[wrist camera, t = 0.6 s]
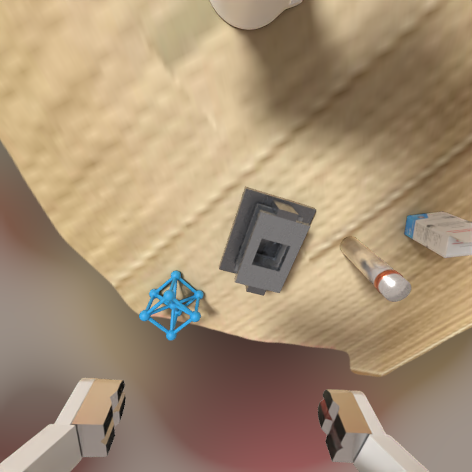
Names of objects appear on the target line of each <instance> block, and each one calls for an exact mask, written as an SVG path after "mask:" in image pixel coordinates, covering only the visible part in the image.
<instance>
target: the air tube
mask: <svg viewBox="0 0 472 472" xmlns="http://www.w3.org/2000/svg"><path fill="white" fill-rule="evenodd" d="M340 249H341V251H342V252H343V253H344V254H345V255H346V256H347V257H348V258H349V260H350V261H351V262H352V263H353V264H354V265H355V266H356V267H357V268H358V269H359V270H360V271H361V272H362V273H363V274H364V275H365V277H366V278H367V279H368V280H369V281H370V282H371V283H372V284H373V285H374V286H375V288H376V289H377V290H378V291H379V292H380V293H381V294H382V295H383V296H384V297H385V298H386V299H387V300H389V301H392V302H396V301H400V300H402V299H404V298H406V297H407V296H408V295H409V293H410V291H411V284H410V283H409V282H408V281H407V280H406V279H405V278H403V276H402V275H401V274H400V273H398V272H397V271H395V270H394V269H393V268H391V267H390V266H389V265H388V264H387V263H386V262H384V261H383V260H382V259H381V258H380V257H378V256H377V255H376V254H375V253H374V252H372V251H371V250H370V249H369V248H368V247H366V246H365V245H364V244H363V243H362V242H361V241H359V240H358V239H357V238H356V237H352V236H351V237H347V238H345V239H344V240H343V241H342V242H341V244H340Z"/></svg>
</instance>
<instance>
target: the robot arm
mask: <svg viewBox="0 0 472 472" xmlns="http://www.w3.org/2000/svg"><path fill="white" fill-rule="evenodd" d="M302 1H303V0H210V2H211V4H212V6H213V7H214V9H215V10H216V12H217V13H218V14H219V15H220V17H221V18H223V19H224V20H225V21H226V22H227V23H229V24H231V25H232V26H235V27H237V28H240V29H247V30H251V29H257V28H261V27H263V26H265V25H267V24H269V23H270V22H272V21H273V20H274V19H275V18H276V17H277V16H278V15H279V14H280V13H282V12H283V11H284V10H285V9H288V8H291V7H294V6H296V5H298V4H300V3H301V2H302ZM124 387H125V383H124V380H112V379H97V378H82V379H81V380H80V381H79V383H78V384H77V386H76V387H75V389H74V391H73V393H72V394H71V396H70V398H69V399H68V401H67V403H66V405H65V407H64V408H63V410H62V411H61V413H60V415H59V417H58V418H57V420H56V422H55V423H54V424H49V425H48V426H47V427H46V428H44V429H43V430H42V431H40V432H39V433H38V434H37V435H35V436H34V437H33V438H32V439H30V440H29V441H28V442H27V443H25V444H24V445H23V446H22V447H20V448H19V449H18V450H17V451H15V452H14V453H13V454H12V455H10V456H9V457H8V458H7V459H5V460H4V461H3V462H2V463H0V472H70V471H71V470H72V469H73V468H74V467H75V466H76V465H77V463H78V462H79V461H80V460H81V459H82V457H107V456H108V453H109V450H110V448H111V445H112V442H113V440H114V437H115V429H114V427H115V426H116V425H117V424H118V423H119V422H120V420H121V417H122V414H123V410H124V406H125V399H126V397H125V393H124V392H123V389H124ZM323 397H324V400H322V401H321V402H320V403H319V406H318V418H319V422H320V426H321V428H322V430H323V431H324V432H325V433H326V434H327V437H326V444H327V447H328V450H329V453H330V457H331V460H332V461H333V462H349V463H350V462H351V463H354V466H355V467H356V468H357V470H358V471H359V472H429V471H428V470H427V469H426V468H425V467H424V466H423V465H421V463H419V462H418V461H417V460H416V459H415V458H414V457H413V456H412V455H411V454H410V453H409V452H407V450H405V449H404V448H403V447H402V446H401V445H400V444H399V443H398V442H397V441H396V440H395V439H393V438H392V437H391V436H390V435H386V433H385V432H384V430H383V428H382V426H381V424H380V422H379V420H378V419H377V417H376V415H375V413H374V411H373V409H372V407H371V405H370V404H369V402H368V400H367V398H366V396H365V394H364V393H363V392H362V391H349V390H325V391H324V393H323Z"/></svg>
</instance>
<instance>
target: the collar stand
mask: <svg viewBox="0 0 472 472" xmlns="http://www.w3.org/2000/svg"><path fill="white" fill-rule="evenodd" d="M315 212H316V209H315V208H313V207H310V206H307V205H303V204H300V203H297V202H294V201H290V200H287V199H284V198H281V197H277V196H274V195H271V194H268V193H264V192H261V191H258V190H255V189H251V188H248V187H245V189H244V192H243V195H242V198H241V201H240V205H239V208H238V211H237V214H236V217H235V220H234V223H233V226H232V229H231V232H230V235H229V238H228V241H227V244H226V247H225V250H224V253H223V256H222V259H221V262H220V265H219V269H220V270H224V271H228V272H232V273H236V276H235V282H236V283H240V284H244V285H246V291H247V292H251V293H255V294H259V295H264V294H265V292H266V290H269V291H273V292H277V293H280V291H281V289H282V287H283V284H284V282H285V280H286V278H287V276H288V274H289V271H290V269H291V267H292V265H293V263H294V261H295V258H296V256H297V254H298V252H299V250H300V247H301V245H302V243H303V241H304V239H305V237H306V234H307V232H308V230H309V228H310V223H311V221H312V219H313V216H314V214H315Z"/></svg>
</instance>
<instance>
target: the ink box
mask: <svg viewBox="0 0 472 472" xmlns="http://www.w3.org/2000/svg"><path fill="white" fill-rule="evenodd" d="M405 235H406V236H408V237H410V238H411V239H413V240H415V241H417V242H418V243H420V244H422V245H423V246H425V247H427V248H429V249H430V250H432V251H434V252H435V253H437V254H439V255H441V256H442V257H444V258H448V257H457V256H466V255H472V222H470V221H467V220H464V219H462V218H459V217H456V216H454V215H451V214H448V213H446V212H443V211H442V212H434V213H426V214H418V215H409V216H407V221H406V227H405Z"/></svg>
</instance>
